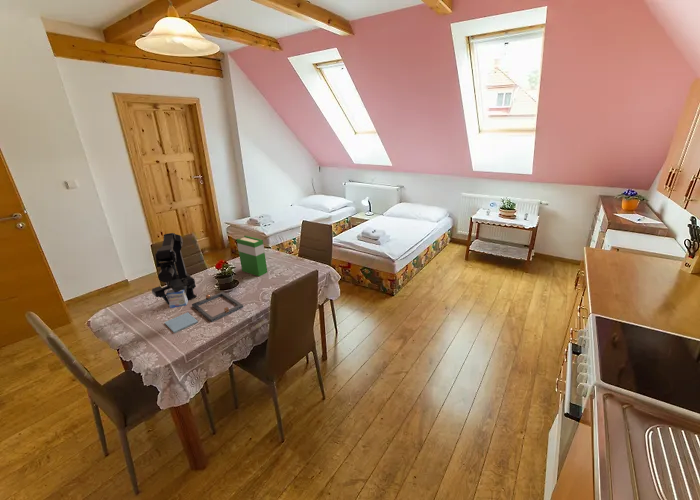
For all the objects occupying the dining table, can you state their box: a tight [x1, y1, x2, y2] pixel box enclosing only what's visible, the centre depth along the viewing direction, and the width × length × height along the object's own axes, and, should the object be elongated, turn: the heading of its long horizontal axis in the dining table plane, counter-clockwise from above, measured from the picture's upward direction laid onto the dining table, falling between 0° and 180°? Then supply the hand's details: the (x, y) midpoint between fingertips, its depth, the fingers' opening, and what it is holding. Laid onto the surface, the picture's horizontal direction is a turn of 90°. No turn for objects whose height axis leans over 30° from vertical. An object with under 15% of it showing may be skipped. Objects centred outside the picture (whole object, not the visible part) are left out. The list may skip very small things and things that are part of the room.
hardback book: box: [236, 235, 268, 277], centre depth 218 cm, size 18×7×24 cm, turn 57°
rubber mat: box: [164, 311, 199, 334], centre depth 167 cm, size 13×12×1 cm
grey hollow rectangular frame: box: [191, 291, 244, 323], centre depth 180 cm, size 24×19×4 cm
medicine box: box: [165, 288, 189, 309], centre depth 162 cm, size 8×4×9 cm, turn 106°
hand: (177, 300), depth 163 cm, fingers closed on medicine box, 9 cm apart
